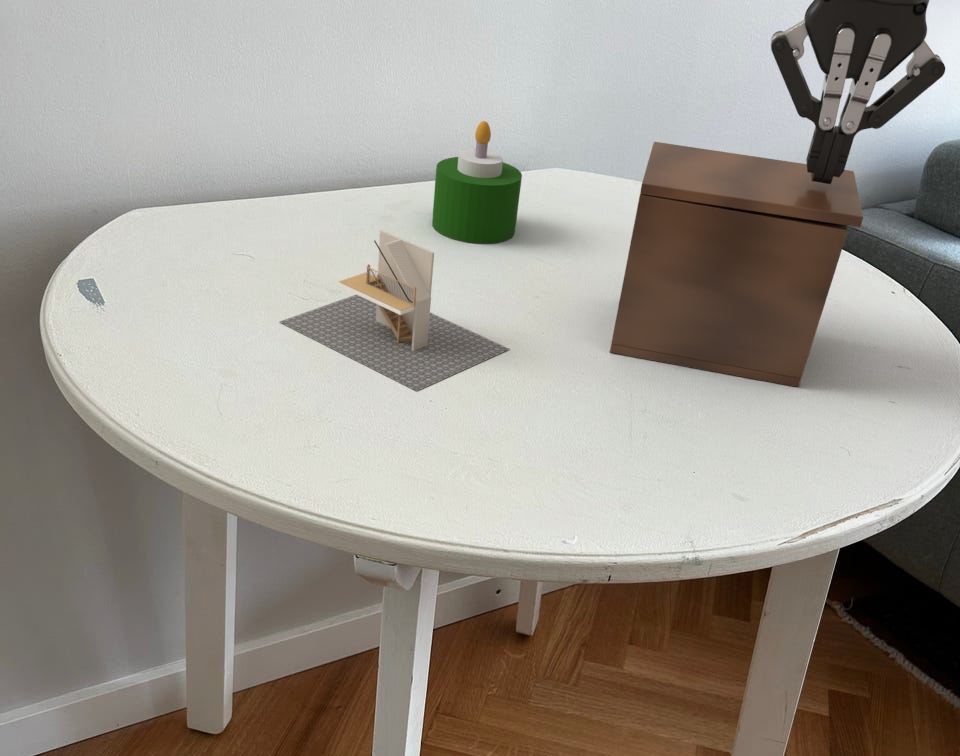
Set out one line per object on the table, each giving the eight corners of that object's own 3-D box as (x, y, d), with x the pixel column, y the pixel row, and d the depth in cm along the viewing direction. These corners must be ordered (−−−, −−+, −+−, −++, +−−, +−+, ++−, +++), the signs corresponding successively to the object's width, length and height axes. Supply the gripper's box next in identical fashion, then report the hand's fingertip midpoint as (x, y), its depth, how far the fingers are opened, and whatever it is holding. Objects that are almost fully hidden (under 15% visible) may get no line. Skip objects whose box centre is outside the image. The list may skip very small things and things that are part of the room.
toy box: (795, 330, 99) (839, 183, 91) (798, 387, 90) (848, 230, 82) (623, 299, 101) (651, 151, 92) (609, 352, 92) (639, 194, 84)
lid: (851, 180, 91) (854, 170, 90) (860, 227, 82) (863, 216, 81) (652, 151, 92) (653, 141, 92) (640, 194, 84) (641, 183, 83)
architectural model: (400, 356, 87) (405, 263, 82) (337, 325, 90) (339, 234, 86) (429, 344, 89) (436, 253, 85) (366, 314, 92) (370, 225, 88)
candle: (442, 207, 114) (451, 103, 108) (521, 221, 113) (534, 117, 107) (423, 234, 108) (431, 124, 101) (506, 249, 107) (519, 140, 101)
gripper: (987, -77, 77) (902, 179, 88) (797, -105, 78) (736, 152, 89) (1005, -63, 71) (911, 209, 82) (799, -93, 73) (734, 180, 84)
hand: (820, 179), depth 86 cm, fingers closed
